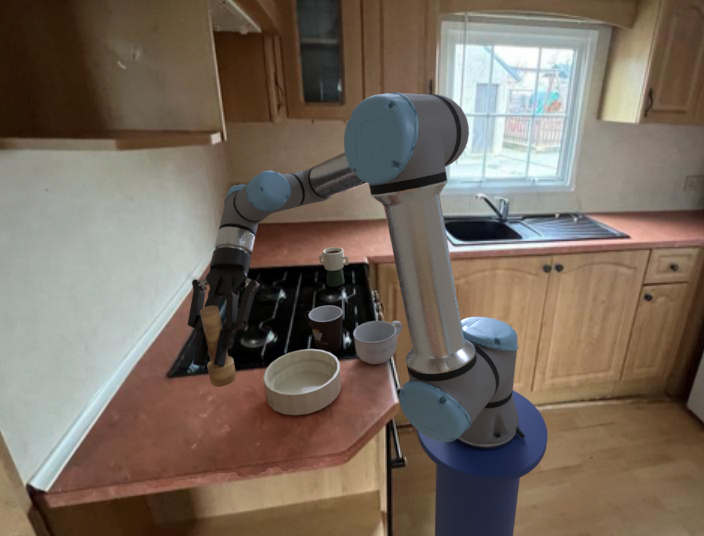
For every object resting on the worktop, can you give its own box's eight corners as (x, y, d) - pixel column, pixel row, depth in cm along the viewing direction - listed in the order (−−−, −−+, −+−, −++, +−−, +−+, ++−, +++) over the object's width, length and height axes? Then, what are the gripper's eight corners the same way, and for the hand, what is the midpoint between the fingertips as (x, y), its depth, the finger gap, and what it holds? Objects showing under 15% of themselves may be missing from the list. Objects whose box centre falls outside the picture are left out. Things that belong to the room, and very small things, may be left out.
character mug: (353, 282, 148) (351, 248, 144) (346, 290, 142) (343, 255, 137) (325, 279, 151) (322, 246, 146) (317, 287, 144) (313, 252, 140)
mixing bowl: (355, 381, 96) (354, 360, 94) (309, 428, 82) (306, 404, 80) (301, 363, 103) (299, 342, 100) (251, 403, 89) (246, 380, 87)
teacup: (366, 375, 98) (365, 346, 95) (347, 353, 106) (345, 326, 104) (415, 356, 105) (415, 329, 102) (394, 337, 114) (393, 312, 111)
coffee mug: (350, 349, 108) (347, 315, 105) (318, 359, 104) (315, 325, 101) (333, 329, 118) (331, 298, 114) (304, 338, 113) (300, 306, 110)
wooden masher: (241, 375, 85) (228, 306, 79) (222, 389, 80) (206, 317, 75) (225, 369, 87) (211, 301, 81) (205, 382, 83) (189, 312, 77)
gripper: (276, 260, 91) (258, 368, 81) (204, 260, 91) (177, 368, 81) (264, 245, 84) (243, 362, 74) (186, 245, 84) (154, 361, 75)
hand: (208, 365), depth 78 cm, fingers closed on wooden masher, 3 cm apart
